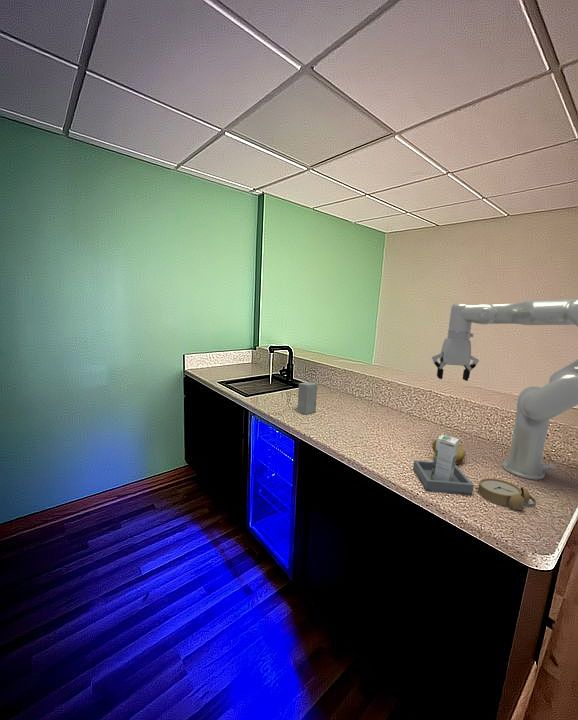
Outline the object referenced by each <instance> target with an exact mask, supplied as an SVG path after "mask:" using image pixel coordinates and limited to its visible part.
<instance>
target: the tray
mask: <svg viewBox="0 0 578 720" xmlns="http://www.w3.org/2000/svg"><path fill="white" fill-rule="evenodd" d="M432 467H433V461H429V460H428V461H427V460H416V459H414V460H413V468H412V469H413V471H414V473H415V475H416V477H417V478H418V479H419V482H420V483H421V485H422V487H423V489H424V490H425V491H426V492H431V493H441V494H453V495H462V496H473V492H474V484H473V482H472V481H471V480H470V479H469V478H468V477H467V476H466V474H464V472H463V471H462V470H461V469H460V468H459V467H458V465H457V464H455V469H454V475H453V479H452V481H440V480H432V479H431V474H432Z"/></svg>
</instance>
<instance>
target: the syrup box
mask: <svg viewBox="0 0 578 720" xmlns="http://www.w3.org/2000/svg"><path fill="white" fill-rule="evenodd" d="M436 440H437V442H436V448H435V452H434V456H433V461H432V462H433V467H432V474H431V479H432V480H440V481H452V479H453V475H454V469H455V463H456V457H457V451H458V444H459V442H460V439H459V438H457V437H454V436H449V435H446V434H441V435H440V436H438V438H436Z"/></svg>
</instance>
